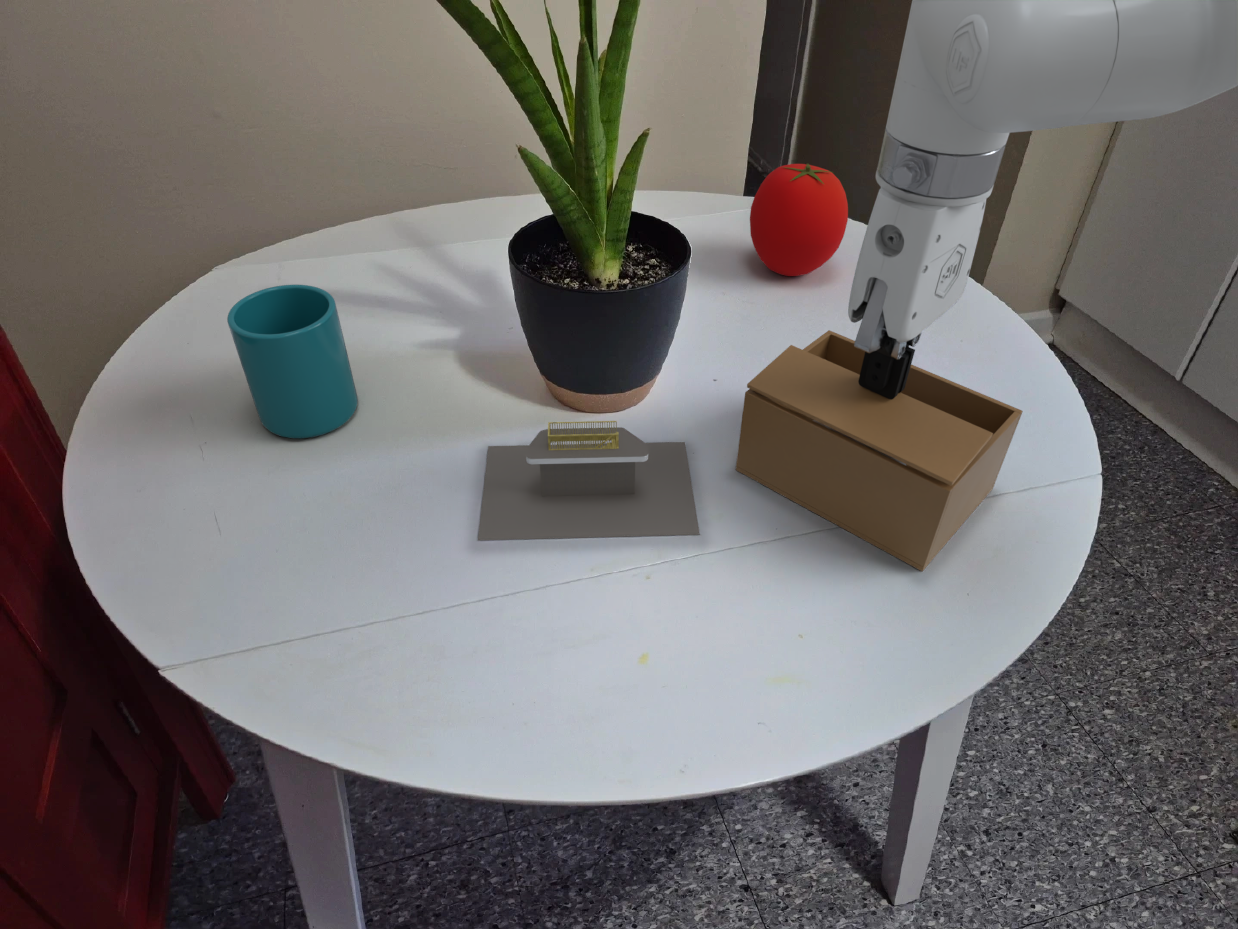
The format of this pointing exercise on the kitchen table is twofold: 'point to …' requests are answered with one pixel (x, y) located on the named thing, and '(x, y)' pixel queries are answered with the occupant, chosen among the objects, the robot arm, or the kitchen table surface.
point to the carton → (874, 463)
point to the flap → (872, 414)
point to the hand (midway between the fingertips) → (880, 387)
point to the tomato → (798, 218)
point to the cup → (294, 359)
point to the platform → (587, 487)
